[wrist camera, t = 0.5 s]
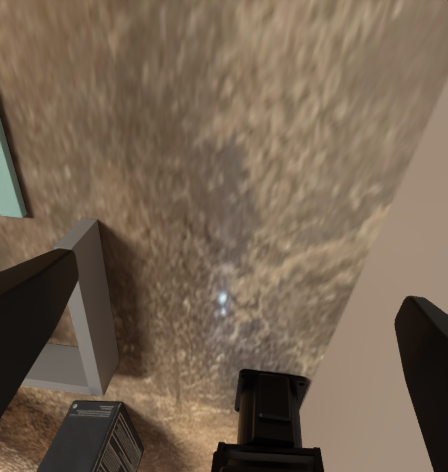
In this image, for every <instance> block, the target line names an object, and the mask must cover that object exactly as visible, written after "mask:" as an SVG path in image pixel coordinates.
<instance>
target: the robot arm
mask: <svg viewBox="0 0 448 472" xmlns="http://www.w3.org/2000/svg"><path fill="white" fill-rule="evenodd" d="M78 279H79V271H78V265H77V259H76V254H75V252H74V251H73V250H71V249H64V248H57V249H54V250H52V251H50V252H47V253H45V254H42V255H40V256H37V257H35V258H33V259H30V260H28V261H25V262H23V263H20V264H18V265H16V266H13V267H11V268H8V269H6V270H3V271H1V272H0V418H1V417H2V415H3V413H4V412H5V410H6V408H7V407H8V405H9V404H10V402H11V400H12V399H13V397H14V395H15V394H16V392H17V391H18V389H19V387H20V386H21V384H22V382H23V381H24V379H25V377H26V376H27V374H28V373H29V371H30V369H31V368H32V366H33V364H34V363H35V361H36V360H37V358H38V356H39V355H40V353H41V351H42V350H43V348H44V347H45V345H46V343H47V342H48V340H49V338H50V337H51V335H52V333H53V332H54V330H55V328H56V326H57V324H58V322H59V320H60V318H61V316H62V314H63V312H64V310H65V308H66V306H67V303H68V301H69V299H70V297H71V295H72V293H73V291H74V289H75V287H76V284H77V282H78ZM395 331H396V336H397V341H398V346H399V352H400V357H401V362H402V367H403V372H404V376H405V381H406V384H407V388H408V391H409V394H410V397H411V400H412V403H413V407H414V410H415V413H416V416H417V419H418V423H419V426H420V429H421V432H422V435H423V438H424V442H425V445H426V448H427V451H428V454H429V457H430V461H431V464H432V467H433V470H434V472H448V314H446V313H445V312H443V311H442V310H441V309H439V308H438V307H437V306H435V305H434V304H433V303H431V302H430V301H428V300H427V299H426V298H423V297H417V296H407V297H406V298H405V299H404V301H403V303H402V305H401V307H400V309H399V312H398V314H397V316H396V318H395ZM306 387H307V380H306V379H305V378H303V377H296V376H288V375H281V374H273V373H266V372H258V371H251V370H241V371H240V372H239V379H238V386H237V393H236V401H235V411H237V412H239V424H238V437H237V444H225V442H219V443H218V448H217V451H215V452H214V454H213V461H212V469H211V472H324V468H323V462H322V456H321V450H320V448H316V447H314V448H302V439H301V427H300V415H299V409H300V406H301V403H302V400H303V396H304V393H305V390H306Z"/></svg>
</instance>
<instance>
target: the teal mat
mask: <svg viewBox="0 0 448 472" xmlns="http://www.w3.org/2000/svg"><path fill="white" fill-rule="evenodd" d="M0 215H2V216H11V217H20V218H23V217H24V216H25V215H27V212H26V208H25V204H24V201H23V197H22V194H21V190H20V187H19V183H18V180H17V176H16V172H15V169H14V165H13V162H12V158H11V155H10V151H9V147H8V144H7V140H6V137H5V133H4V130H3V126H2V123H1V119H0Z"/></svg>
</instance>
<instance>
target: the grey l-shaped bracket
mask: <svg viewBox="0 0 448 472" xmlns="http://www.w3.org/2000/svg"><path fill="white" fill-rule="evenodd" d="M57 248H64V249H71V250H73V251H74V252H75V254H76V259H77V265H78V271H79V279H78V282H77V284H76V287H75V289H74V291H73V293H72V295H71V297H70V299H69V301H68V306H69V310H70V314H71V318H72V322H73V326H74V330H75V334H76V338H77V342H78V346H79V347H72V346H65V345H57V344H50V343H46V345H45V347H44V348H43V350H42V351H41V353H40V355H39V356H38V358H37V360H36V361H35V363H34V364H33V366H32V368H31V369H30V371H29V373H28V374H27V376H26V377H25V379H24V381H23V382H22V384H21V385H22V386H29V387H36V388H43V389H50V390H58V391H65V392H72V393H79V394H86V395H93V396H100V397H104V394H105V392H106V390H107V388H108V385H109V383H110V381H111V379H112V376H113V374H114V372H115V370H116V367H117V365H118V363H119V361H120V360H119V354H118V348H117V341H116V335H115V329H114V322H113V316H112V310H111V303H110V297H109V290H108V284H107V278H106V271H105V265H104V259H103V252H102V246H101V240H100V233H99V227H98V221H97V219H88V218H81V219H80V220H79V221H78V222H77V224H76V225H75V226H74V227H73V228H72V229H71V230H70V231H69V232H68V233H67V234H66V235H65V236H64V237H63V238H62V239H61V240H60V241H59V242H58V243H57V244H56V245H55V246H54V249H57Z"/></svg>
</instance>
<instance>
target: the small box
mask: <svg viewBox="0 0 448 472" xmlns="http://www.w3.org/2000/svg"><path fill="white" fill-rule="evenodd" d="M143 451H144V448H143V446H142V444H141V442H140V440H139V438H138V436H137V433H136V432H135V429H134V427H133V425H132V423H131V421H130V419H129V417H128V415H127V413H126V411H125V409H124V407H123V405H122V403H121V402H94V401H73V403H72V405H71V407H70V409H69V411H68V413H67V415H66V417H65V418H64V420H63V422H62V424H61V426H60V428H59V430H58V432H57V434H56V436H55V438H54V439H53V441H52V443H51V445H50V447H49V449H48V451H47V453H46V455H45V456H44V458H43V460H42V462H41V464H40V466H39V468H38V470H37V472H137V469H138V466H139V463H140V460H141V457H142V454H143Z"/></svg>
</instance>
